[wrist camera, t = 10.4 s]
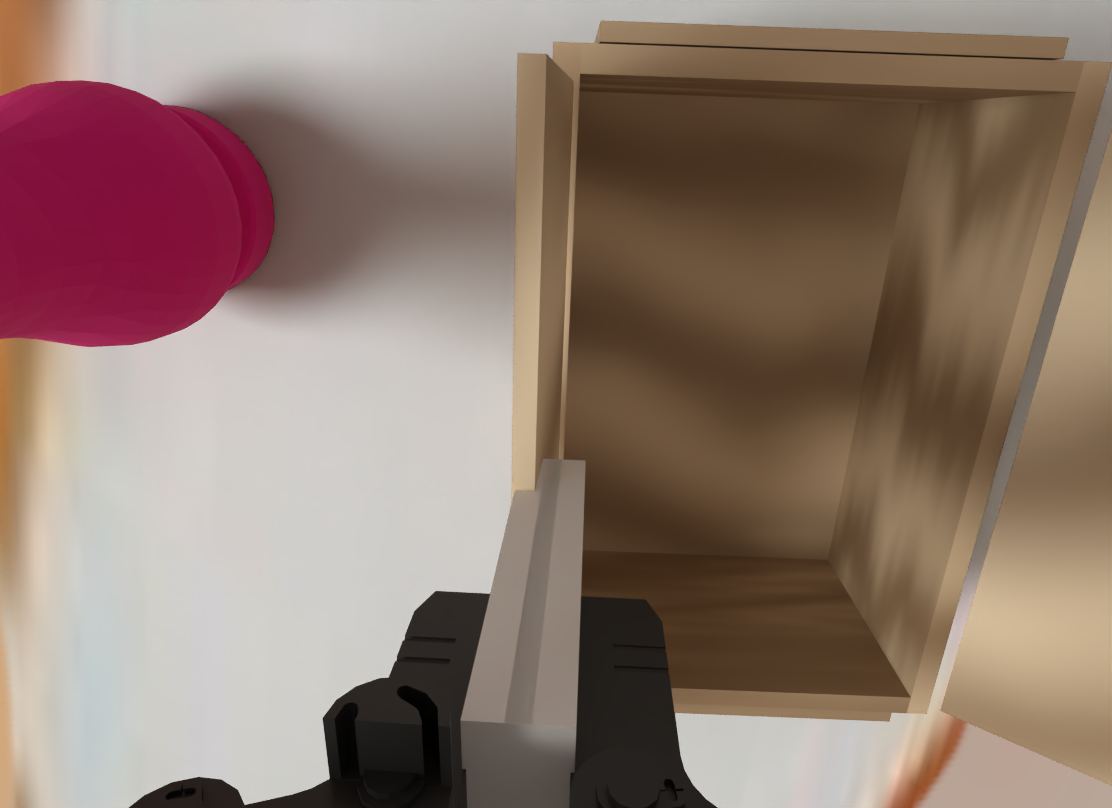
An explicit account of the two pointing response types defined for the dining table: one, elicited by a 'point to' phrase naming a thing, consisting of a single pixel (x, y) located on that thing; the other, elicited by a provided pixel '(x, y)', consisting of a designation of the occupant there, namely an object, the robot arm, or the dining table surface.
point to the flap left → (539, 262)
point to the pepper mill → (120, 214)
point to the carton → (804, 337)
